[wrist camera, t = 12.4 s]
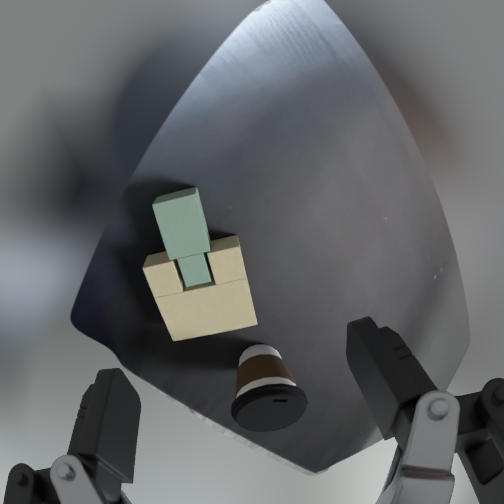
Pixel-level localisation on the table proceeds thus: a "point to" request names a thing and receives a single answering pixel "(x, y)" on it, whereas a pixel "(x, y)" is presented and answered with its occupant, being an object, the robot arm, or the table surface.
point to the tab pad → (185, 233)
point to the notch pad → (203, 293)
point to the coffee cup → (266, 392)
